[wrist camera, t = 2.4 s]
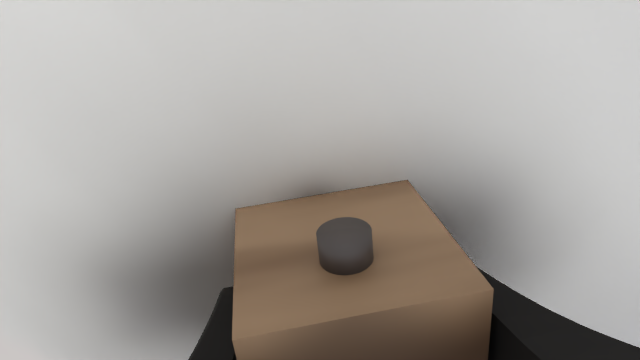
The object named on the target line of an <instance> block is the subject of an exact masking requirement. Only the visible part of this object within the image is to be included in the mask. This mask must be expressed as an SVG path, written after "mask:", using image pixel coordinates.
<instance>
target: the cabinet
mask: <svg viewBox="0 0 640 360" xmlns="http://www.w3.org/2000/svg"><path fill="white" fill-rule="evenodd" d="M493 292H494V289H493V288H492V286H491V285H490V284H489V282H488V281H487V280H486V279H485V277H484V276H483V275H482V274H481V272H480V271H479V270H478V269H477V267H476V266H475V265H474V263H473V262H472V261H471V260H470V258H469V257H468V256H467V255H466V253H465V252H464V251H463V250H462V248H461V247H460V246H459V244H458V243H457V242H456V241H455V239H454V238H453V237H452V236H451V234H450V233H449V232H448V231H447V229H446V228H445V227H444V225H443V224H442V223H441V222H440V220H439V219H438V218H437V217H436V215H435V214H434V213H433V212H432V210H431V209H430V208H429V207H428V205H427V204H426V203H425V201H424V200H423V199H422V198H421V196H420V195H419V194H418V193H417V191H416V190H415V189H414V188H413V186H412V185H411V184H410V182H409V181H408V180H404V181H398V182H392V183H386V184H380V185H374V186H368V187H362V188H356V189H350V190H344V191H338V192H332V193H326V194H320V195H314V196H308V197H302V198H297V199H291V200H285V201H279V202H273V203H267V204H261V205H255V206H249V207H243V208H237V209H236V215H235V250H234V284H233V319H232V342H233V346H234V350H235V354H236V358H237V360H488V352H489V340H490V328H491V316H492V304H493Z"/></svg>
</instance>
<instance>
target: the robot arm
mask: <svg viewBox="0 0 640 360" xmlns="http://www.w3.org/2000/svg"><path fill="white" fill-rule="evenodd" d="M477 269H478V270H479V271H480V272H481V274H482V275H483V276H484V277H485V279H486V280H487V281H488V282H489V284H490V285H491V286H492V288H493V289H494V292H493V304H492V316H491V328H490V340H489V352H488V360H640V348H639V347H636V346H633V345H630V344H627V343H625V342H622V341H619V340H617V339H614V338H612V337H609V336H607V335H604V334H602V333H599V332H596V331H594V330H592V329H589V328H587V327H585V326H582V325H580V324H578V323H576V322H574V321H572V320H569V319H567V318H565V317H563V316H561V315H559V314H557V313H554V312H553V311H551V310H549V309H547V308H545V307H543V306H541V305H539V304H537V303H535V302H534V301H532V300H530V299H528V298H526V297H525V296H523V295H521V294H519V293H517V292H516V291H514V290H512V289H511V288H509V287H507V286H506V285H504V284H502V283H501V282H499V281H498V280H496V279H494V278H493V277H491V276H490V275H488V274H487V273H485V272H484V271H482V270H480V269H479V268H477ZM232 319H233V287H228V288H224V289H223V290H222V291H221V292H220V295H219V298H218V300H217V303H216V305H215V308H214V310H213V312H212V314H211V317H210V319H209V321H208V323H207V325H206V327H205V329H204V331H203V333H202V335H201V337H200V339H199V341H198V343H197V345H196V347H195V349H194V351H193V353H192V354H191V356H190V358H189V359H188V360H237V358H236V354H235V350H234V346H233V342H232Z"/></svg>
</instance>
